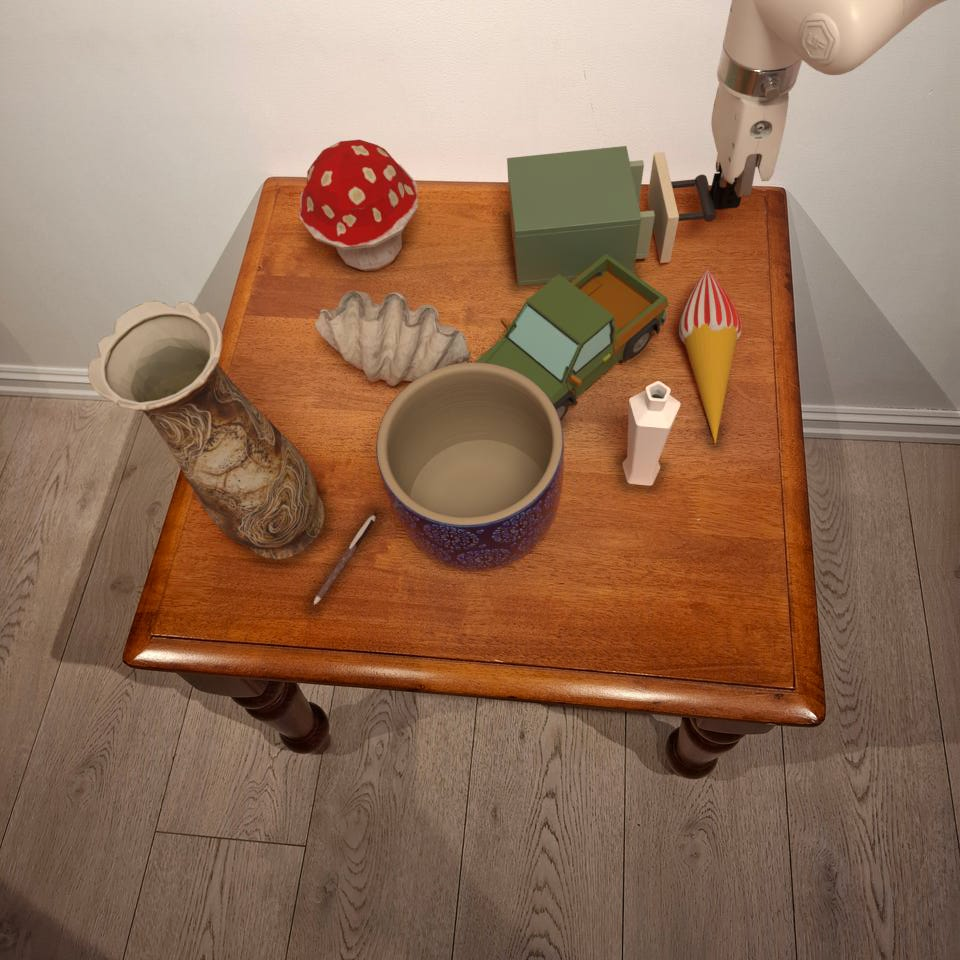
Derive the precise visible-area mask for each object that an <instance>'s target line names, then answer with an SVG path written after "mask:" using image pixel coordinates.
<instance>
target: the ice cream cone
mask: <svg viewBox="0 0 960 960" xmlns="http://www.w3.org/2000/svg"><path fill="white" fill-rule="evenodd" d="M742 327H743V326H742V320H741V317H740V314H739V312H738V309H737V308H736V306H735V304H734V302H733V300H732V299H731V298H730V296H729V294H728V293H727V292H726V290H725V289H724V287H723V286H722V284H721V283H720V282H719V280H718V279H717V278H716V277H715V276H714V275H713V274H712V272H710V270H709V269H708V268H706V270H705V271H704V273H703V274H702V276H700V279H699V280H698V281H697V283H696V284H695V286H694V288H693V290H692V292H691V294H690V296H689V298H688V300H687V301H686V304H685V307H684V309H683V312H682V314H681V317H680V321H679V325H678V335H679V338H680V340H681V342H682V343H683V345H685V349H686V352H687V356H688V359H689V362H690V367H691V369H692V372H693V377H694V378H695V383H696V386H697V390H698V392H699V395H700V399H701V403H702V405H703V406H702V407H703V408H704V412H705V415H706V419H707V422H708V425H709V429H710V432H711V435H712V439H713V442H714V444H715V445H716V444H717V440H718V433H719V428H720V425H721V424H720V423H721V419H722V413H723V409H724V405H725V399H726V394H727V389H728V384H729V379H730V374H731V368H732V364H733V359H734V355H735V349H736V344H737V340H738V339H739V338H740V336H741V333H742Z"/></svg>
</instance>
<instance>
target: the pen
mask: <svg viewBox="0 0 960 960" xmlns="http://www.w3.org/2000/svg"><path fill="white" fill-rule="evenodd" d="M377 515H378V513H377V512H374V513H373V514H372V515H370V516H369V517H368V518H367V519H366V520H365V522H364V523H363V525H362V527H360V529H359V530H358V532H357V533H356V535H355V536H354V537H353V539H352V541H351V542H350V544H349V545H348V547H347V548H346V550H345V551H344V553H343V554H342V556H341V557H340V559H339V560H338V562H337V563H336V565H335V567H334V568H333V569H332V571H331V573H330V574H329V576H328V577H327V578H326V580H325V581H324V583H323V584H322V585H321V587H320V589H319V590H318V592H317V594H316V595H315V598H314V600H313V605H312V606H313V607H314V606H315V605H317V604H318V603H319V602H320V601H321V600H322V599H323V598H324V596H325V595H326V594H327V592H328V590H329V589H330V588H331V586H332V585H333V583H334V582H335V581H336V579H337V577H338V576H339V575H340V573H341V572H342V570H343V569H344V568H345V566H346V565H347V563H348V562H349V560H350V559H351V558H352V556H353V555H354V553H355V552H356V550H357V549H358V548H359V546H360V545H361V543H362V542H363V540H364V538H365V537H366V535H367V534H368V532H369V531H370V529H371V528H372V526H373V525H374V523H375V522H376V518H377Z"/></svg>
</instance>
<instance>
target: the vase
mask: <svg viewBox="0 0 960 960" xmlns="http://www.w3.org/2000/svg"><path fill="white" fill-rule="evenodd" d="M96 346H97V350H98V356H99V357H97V358H95V359H92V360H90V362H89V363H88V365H87V377H88V380H89V383H90V386H91V387H92V389H94V391H95V392H96V393H97V394H98V395H99V396H100V397H102V398H104V399H106V400H108V401H110V402H112V403H114V404H116V405H117V406H118V408H120V409H126V410H131V411H132V410H133V411H140V412H141V411H142V412H143V414H144V415H145V416H146V417H147V418H148V420H149V421H150V422H151V424H152V425H153V427H154V428H155V429H156V431H157V432H158V434H159V436H160V437H161V439H162V440H163V441H164V443H165V445H166V447H167V448H168V449H169V451H170V453H171V454H172V456H173V458H174V460H175V462H176V463H177V464H178V466H179V468H180V470H181V471H182V473H183V475H184V476H185V478H186V480H187V482H188V483H189V485H190V487H191V489H192V490H193V492H194V494H195V496H196V497H197V499H198V501H199V503H200V504H201V506H202V507H203V509H204V511H205V513H206V514H207V516H209V518H210V519H211V521H212V522H213V523H214V524H215V525H216V527H218V529H219V530H220V531H222V533H224V534H225V535H226V536H227V537H229V538H230V539H231V540H233V541H234V542H236V543H238V544H240V545H242V546H244V547H246V548H249V550H251V551H252V552H254V554H257V555H259V556H260V557H263V558H266V559H269V560H270V559H271V560H284V559H290V558H291V557H292V558H293V557H295V556H297V555H299V554H300V553H303V552H304V551H305V550H306V549H308V548H309V547H310V546H311V544H313V542H314V541H315V540H316V539H317V538H318V536H319V534H320V533H321V530H322V528H323V526H324V520H325V517H326V516H325V508H324V507H325V506H324V503H323V501H322V499H321V497H320V496H319V494H318V489H317V488H318V487H317V484H316V479H315V476H314V474H313V472H312V470H311V468H310V466H309V464H308V463H307V461H306V460H305V458H304V457H303V455H302V454H301V452H300V451H299V450H298V448H297V447H296V446H295V445H294V444H293V443H292V442H291V440H289V439H288V438H287V437H286V435H284V434H283V432H281V430H279V429H278V427H277V426H275V424H273V422H272V421H271V420H269V418H268V417H266V415H265V414H264V413H263V412H262V411H260V409H259V408H258V407H256V405H255V404H254V403H253V402H252V401H251V400H250V399H249V398H248V397H247V396H246V395H245V394H244V392H242V390H241V389H240V388H239V387H238V386H237V385H236V383H234V382H233V380H232V379H231V378H230V377H229V376H228V375H227V373H226V372H225V371H224V370H223V368H221V366H220V365H219V361H220V356H221V353H222V348H223V332H222V327H221V325H220V323H219V321H218V320H217V318H216V317H215V316H214V315H213V313H211V312H209V311H205V312H200V311H199V309H197V308H196V306H195V305H194V304H193V303H192V302H190V301H187V300H186V301H180V302H179V303H178V304H177V305H176V306H171V305H169V304H168V303H166V302H163V301H159V300H152V301H148V302H144V303H140V304H139V305H136V306H134V307H132V308H130V309H128V310H126V311H125V312H124V313H122V315H120V317H118V318H117V320H116V321H115V323H114V328H113V333H112V334H109V335H106V336H103V337H102V338H101V340H99V342H98V343H97V345H96Z"/></svg>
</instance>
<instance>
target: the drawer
mask: <svg viewBox="0 0 960 960" xmlns="http://www.w3.org/2000/svg"><path fill="white" fill-rule="evenodd" d="M629 161H630V160H629ZM630 166H631V171H632V176H633V181H634V186H635V191H636V196H637V201H638V205H639V206H640V199H641V191H642V190H641V189H642V182H643V176H644V169H645V163H644V160H643V159H641V160H640V159H639V160H631V161H630ZM692 187H695V189H696V193H697V197H698V201H699V205H700V209H701V211H695V212H685V213H679V210H678V206H677V202H676V198H675V197H676V196H675V193H674V189H682V188H683V189H684V188H692ZM710 190H711V187H710V184H709V180H708V177H707V175H705V174H699V175H697V176H696V177H695V178H694V179H693V178H692V179H681V180H672V181H671V176H670V171H669V167H668V162H667V158H666V154H665V152H664V151H661V152H654V153H653V157H652V163H651V171H650V177H649V184H648V192H647V198H646V202H647V206H648V210H645V211H641V208H640V207H639V210H640V215H641V224H640V231H639V238H638V245H637V252H636V259H635V260H640V259H641V260H643V259H648V258H649V254H650V248H651V242H652V235H654V241H655V245H656V250H657V254H658V260H659V263H660V264H665V263H666V264H667V263H671V261H672V260H671V259H672V257H673V256H672V255H673V250H674V246H675V240H676V235H677V234H676V233H677V230H678V224H679V222H684V221H685V222H686V221H687V222H688V221H697V220H704V222H706V223H712V222H714V221H715V220H716V219H717V210H715V207H714V203H713V200H712V196H711V192H710Z"/></svg>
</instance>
